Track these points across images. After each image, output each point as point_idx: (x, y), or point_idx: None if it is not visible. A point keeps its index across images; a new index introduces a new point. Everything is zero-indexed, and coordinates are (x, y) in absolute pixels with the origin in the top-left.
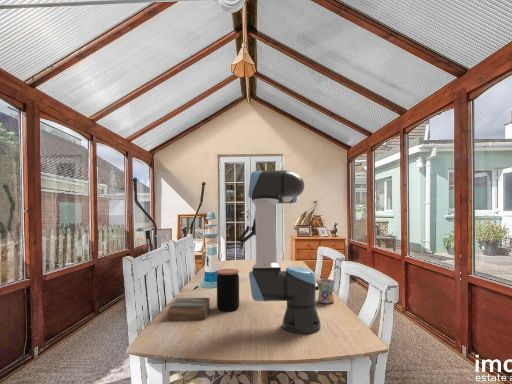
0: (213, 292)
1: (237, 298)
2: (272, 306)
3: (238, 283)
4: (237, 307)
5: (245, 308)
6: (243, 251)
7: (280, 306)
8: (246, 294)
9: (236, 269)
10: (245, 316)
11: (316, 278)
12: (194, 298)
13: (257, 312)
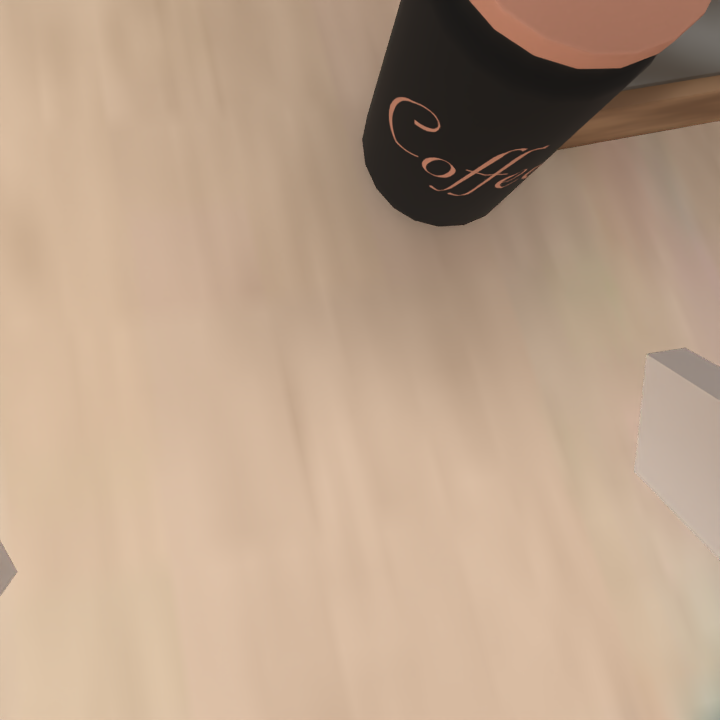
0: (679, 556)
1: (377, 81)
2: (120, 246)
3: (400, 12)
4: (366, 121)
5: (317, 174)
6: (698, 421)
7: (52, 254)
8: (403, 554)
9: (505, 1)
10: (276, 10)
11: None
12: (689, 59)
13: (212, 95)
